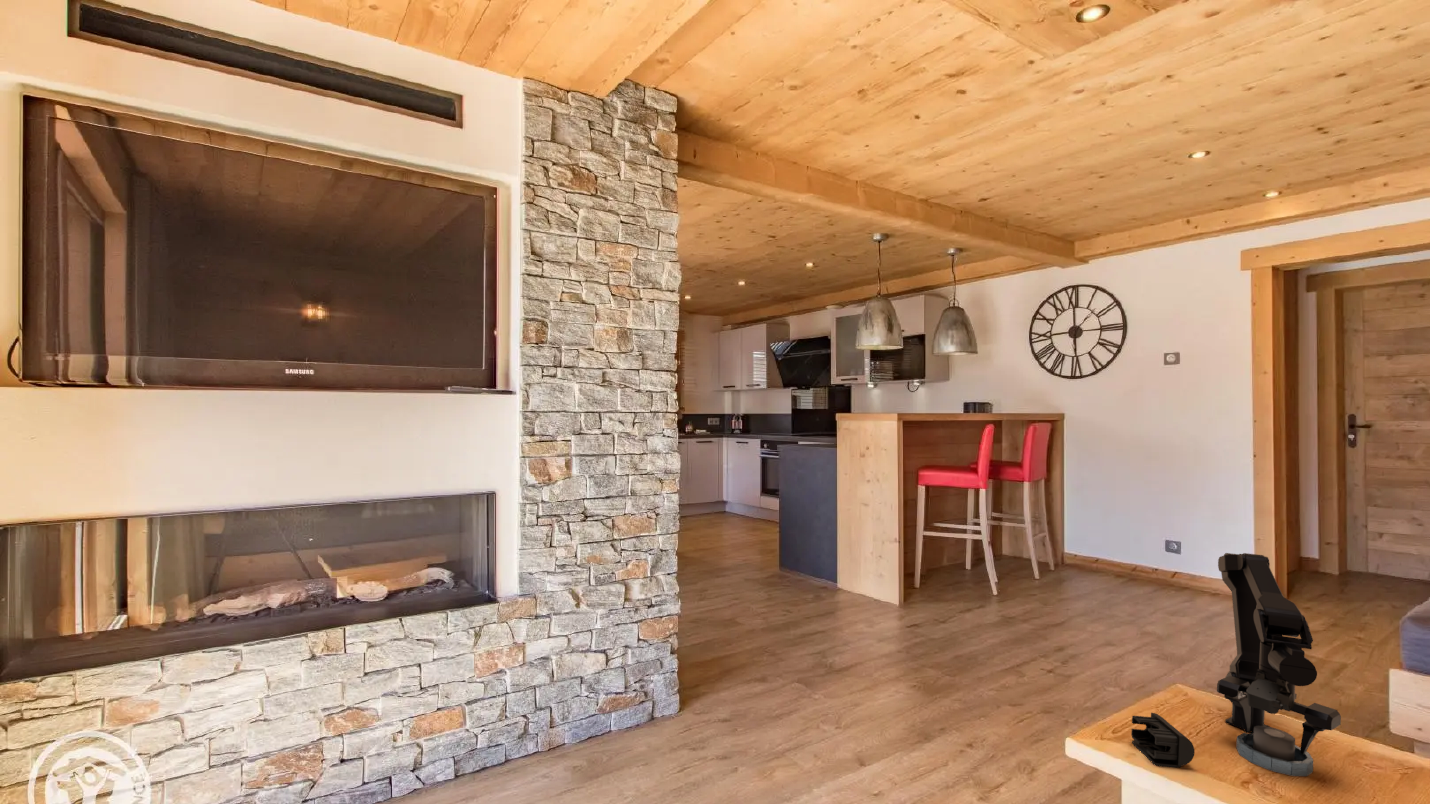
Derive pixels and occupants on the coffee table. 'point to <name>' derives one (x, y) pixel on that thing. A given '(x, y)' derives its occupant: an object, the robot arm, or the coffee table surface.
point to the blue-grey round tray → (1293, 768)
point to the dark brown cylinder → (1274, 742)
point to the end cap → (1161, 742)
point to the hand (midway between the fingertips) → (1274, 742)
